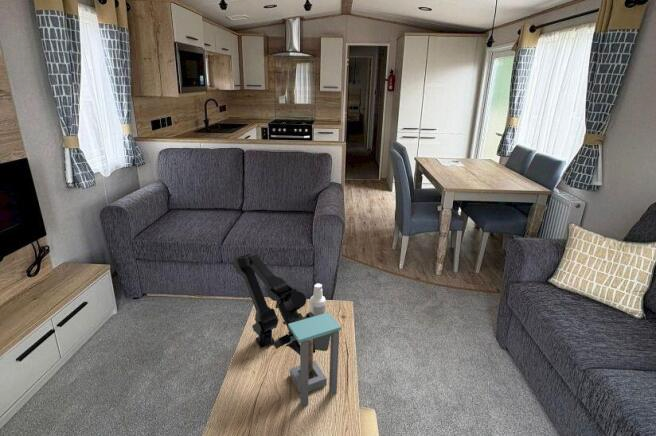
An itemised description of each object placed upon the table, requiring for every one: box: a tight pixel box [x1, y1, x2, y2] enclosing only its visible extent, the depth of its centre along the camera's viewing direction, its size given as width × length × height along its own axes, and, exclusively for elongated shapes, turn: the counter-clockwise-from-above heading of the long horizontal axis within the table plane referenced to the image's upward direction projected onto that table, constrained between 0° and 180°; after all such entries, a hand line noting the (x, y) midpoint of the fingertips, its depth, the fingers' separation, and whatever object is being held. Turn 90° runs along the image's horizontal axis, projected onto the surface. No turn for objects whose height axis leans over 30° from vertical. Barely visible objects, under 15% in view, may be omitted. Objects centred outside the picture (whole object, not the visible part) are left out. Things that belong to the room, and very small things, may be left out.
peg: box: [308, 339, 314, 372], centre depth 135 cm, size 4×4×13 cm
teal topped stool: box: [288, 312, 342, 407], centre depth 129 cm, size 10×15×27 cm, turn 118°
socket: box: [289, 359, 328, 393], centre depth 138 cm, size 10×10×3 cm
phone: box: [314, 333, 331, 351], centre depth 161 cm, size 7×1×15 cm
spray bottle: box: [309, 282, 327, 316], centre depth 169 cm, size 7×7×18 cm
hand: (309, 355), depth 134 cm, fingers closed on peg, 4 cm apart
